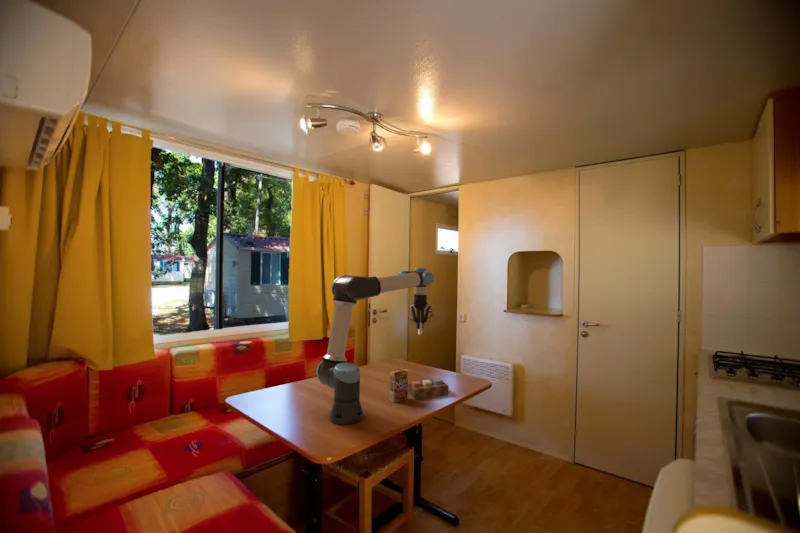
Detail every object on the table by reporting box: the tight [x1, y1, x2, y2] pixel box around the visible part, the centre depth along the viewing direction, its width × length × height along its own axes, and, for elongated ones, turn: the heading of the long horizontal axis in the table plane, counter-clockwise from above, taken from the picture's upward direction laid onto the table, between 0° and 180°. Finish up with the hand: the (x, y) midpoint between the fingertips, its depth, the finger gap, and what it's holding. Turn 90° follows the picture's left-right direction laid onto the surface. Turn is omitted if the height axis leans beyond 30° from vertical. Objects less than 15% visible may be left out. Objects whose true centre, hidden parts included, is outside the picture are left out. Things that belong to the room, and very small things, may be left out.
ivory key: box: [421, 379, 432, 386], centre depth 192 cm, size 4×4×4 cm
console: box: [408, 378, 449, 400], centre depth 192 cm, size 20×12×5 cm, turn 111°
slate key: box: [433, 378, 444, 384], centre depth 195 cm, size 4×4×4 cm
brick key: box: [410, 380, 421, 387], centre depth 190 cm, size 4×4×4 cm
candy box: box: [388, 368, 409, 403], centre depth 182 cm, size 9×4×15 cm, turn 123°
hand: (420, 334), depth 206 cm, fingers closed
